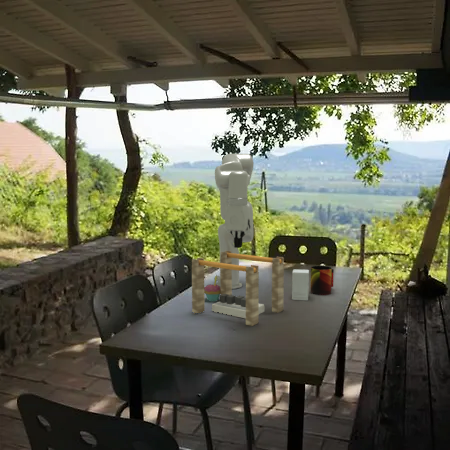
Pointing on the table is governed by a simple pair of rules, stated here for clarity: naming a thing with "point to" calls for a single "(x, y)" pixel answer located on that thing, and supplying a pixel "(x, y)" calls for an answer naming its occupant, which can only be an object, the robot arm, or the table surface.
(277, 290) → the wooden post rack
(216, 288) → the cupcake
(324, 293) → the mug
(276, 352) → the table surface
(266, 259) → the orange cylindrical bar
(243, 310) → the breaker panel
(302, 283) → the supplement box
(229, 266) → the orange rounded rod
